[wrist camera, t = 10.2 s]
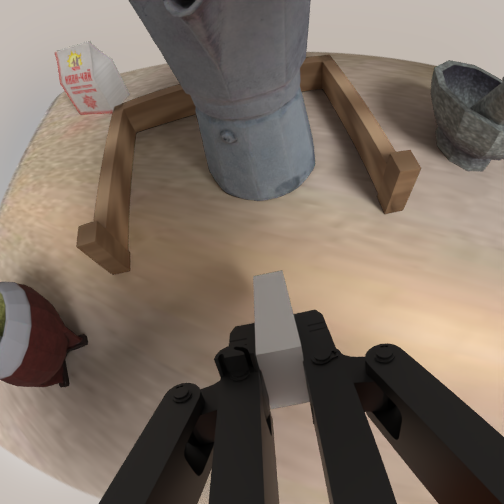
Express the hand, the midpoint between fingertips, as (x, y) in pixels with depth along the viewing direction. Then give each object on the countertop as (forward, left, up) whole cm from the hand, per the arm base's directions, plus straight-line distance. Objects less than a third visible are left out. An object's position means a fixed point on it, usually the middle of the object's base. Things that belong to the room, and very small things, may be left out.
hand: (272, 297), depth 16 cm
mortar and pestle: (-9, -21, -4) cm, 23 cm away
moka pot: (+8, -11, -4) cm, 14 cm away
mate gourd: (+13, +11, -4) cm, 18 cm away
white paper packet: (+32, -13, -4) cm, 35 cm away
